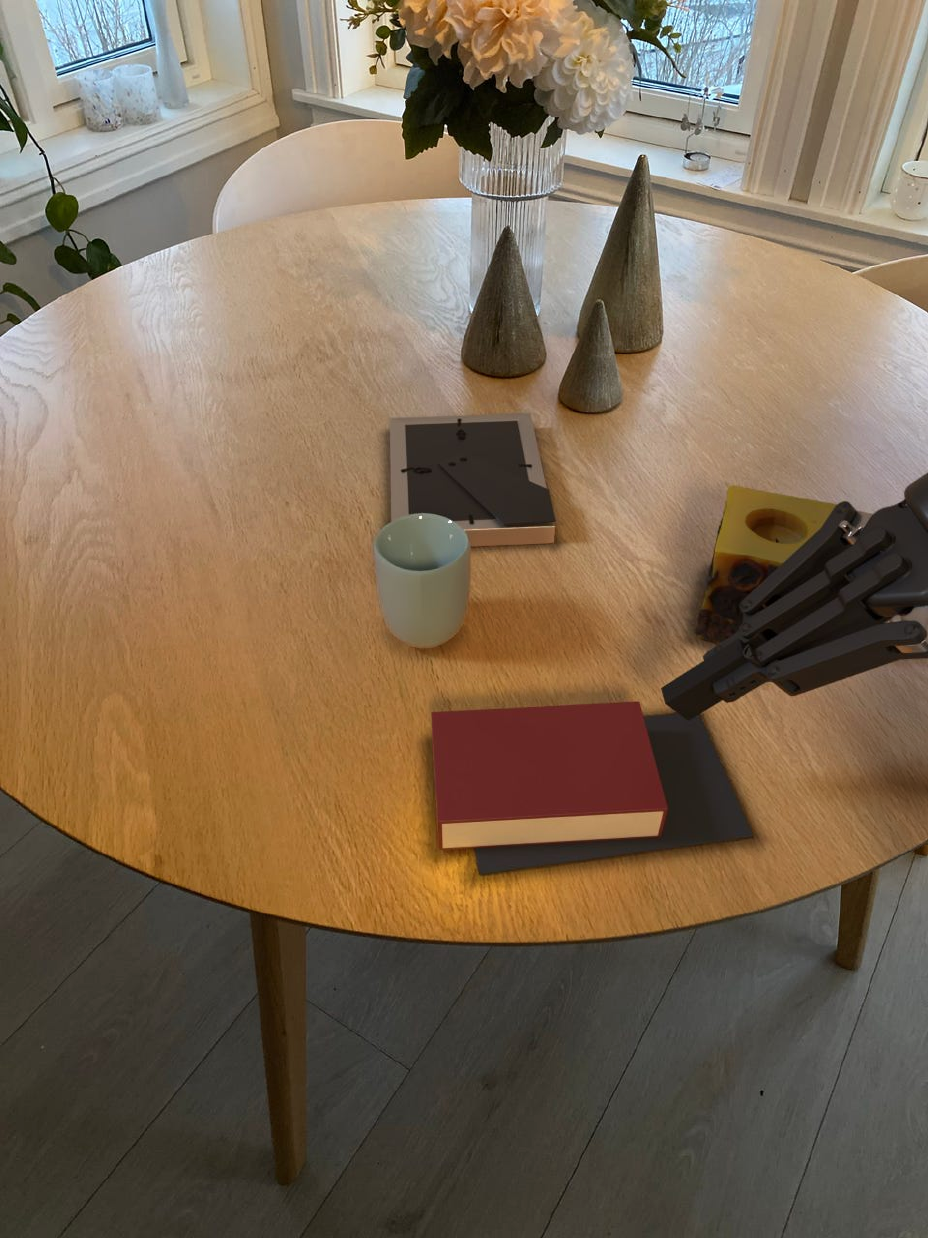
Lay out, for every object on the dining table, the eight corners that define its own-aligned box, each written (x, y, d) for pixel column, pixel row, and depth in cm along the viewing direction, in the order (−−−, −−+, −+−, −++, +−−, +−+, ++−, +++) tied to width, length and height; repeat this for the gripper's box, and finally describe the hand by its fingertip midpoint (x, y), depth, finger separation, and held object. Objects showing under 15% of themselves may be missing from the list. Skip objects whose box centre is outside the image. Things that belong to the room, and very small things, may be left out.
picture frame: (553, 543, 94) (529, 428, 109) (555, 520, 92) (530, 406, 107) (392, 550, 93) (390, 433, 108) (391, 526, 91) (389, 411, 106)
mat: (697, 713, 78) (698, 710, 77) (753, 837, 69) (753, 835, 69) (453, 743, 75) (453, 740, 75) (479, 875, 67) (479, 873, 67)
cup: (487, 629, 85) (489, 541, 78) (423, 675, 81) (419, 585, 74) (426, 588, 89) (423, 501, 82) (363, 630, 85) (353, 541, 78)
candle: (811, 667, 81) (842, 578, 75) (691, 640, 84) (712, 551, 77) (819, 592, 88) (848, 504, 82) (708, 569, 91) (728, 482, 84)
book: (633, 730, 76) (432, 741, 75) (639, 700, 74) (431, 711, 73) (661, 837, 69) (438, 851, 68) (668, 808, 66) (437, 822, 65)
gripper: (1082, 609, 53) (729, 802, 64) (977, 474, 63) (685, 662, 73) (1027, 538, 49) (661, 756, 60) (925, 405, 59) (624, 614, 70)
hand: (674, 704), depth 67 cm, fingers closed
